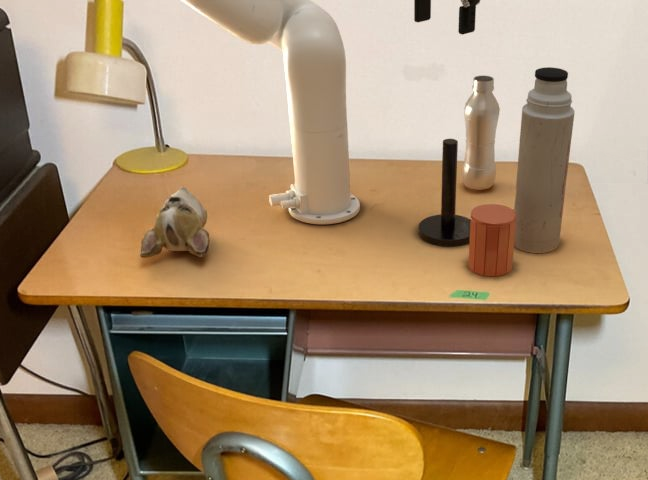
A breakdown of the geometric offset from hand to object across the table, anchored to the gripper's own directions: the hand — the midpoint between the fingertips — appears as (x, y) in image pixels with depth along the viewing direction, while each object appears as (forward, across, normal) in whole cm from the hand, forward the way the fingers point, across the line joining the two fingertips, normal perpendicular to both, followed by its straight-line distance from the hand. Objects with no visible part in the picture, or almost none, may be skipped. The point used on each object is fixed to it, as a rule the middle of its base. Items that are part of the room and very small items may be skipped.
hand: (444, 26), depth 135 cm
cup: (+30, +22, -11) cm, 39 cm away
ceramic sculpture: (+31, -18, -42) cm, 55 cm away
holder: (+30, +9, -8) cm, 32 cm away
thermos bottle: (+31, +22, +1) cm, 37 cm away
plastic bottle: (+31, 0, +11) cm, 32 cm away
